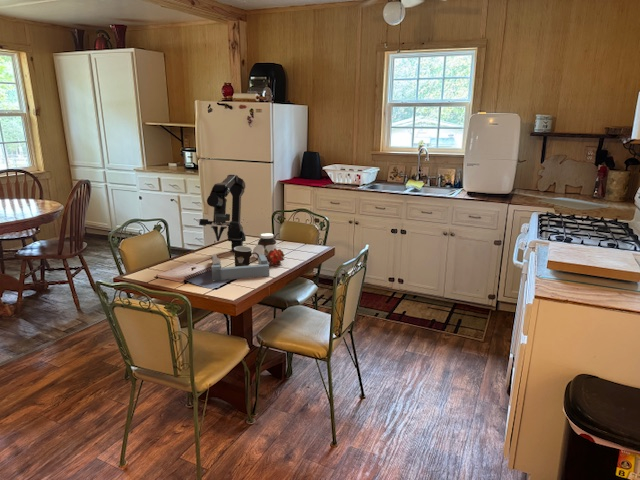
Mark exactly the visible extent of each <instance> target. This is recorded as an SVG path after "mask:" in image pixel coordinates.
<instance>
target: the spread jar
mask: <svg viewBox="0 0 640 480" xmlns="http://www.w3.org/2000/svg"><path fill="white" fill-rule="evenodd" d="M274 249H276V250H278V242H277V240H276V239H275V237H274V234H273V233H268V232H266V233H260V238H259V239H258V242H257V245H255V246H254V247H253V248H252V253H254V252H255V253H257V254H258V255H265V257H266V258H267V254H268V253H269V252H270V251H271V250H274ZM257 254H252V255H253V257H254V258H255V259H257V258H258V256H257Z"/></svg>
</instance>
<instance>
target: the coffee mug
mask: <svg viewBox="0 0 640 480" xmlns="http://www.w3.org/2000/svg"><path fill="white" fill-rule="evenodd" d="M253 254H257V253H255V252H254V253H253V248H251V247H250V246H245V245H243V246H237V247H234V252H233V255H234V257H233V258H234V267H237V266H249V265H251V264H252V263H254V262H256V261H258V258H259V255H258V254H257V256H258V258H255V259H254V260H251V257H252V255H253ZM250 260H251V262H250Z"/></svg>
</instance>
